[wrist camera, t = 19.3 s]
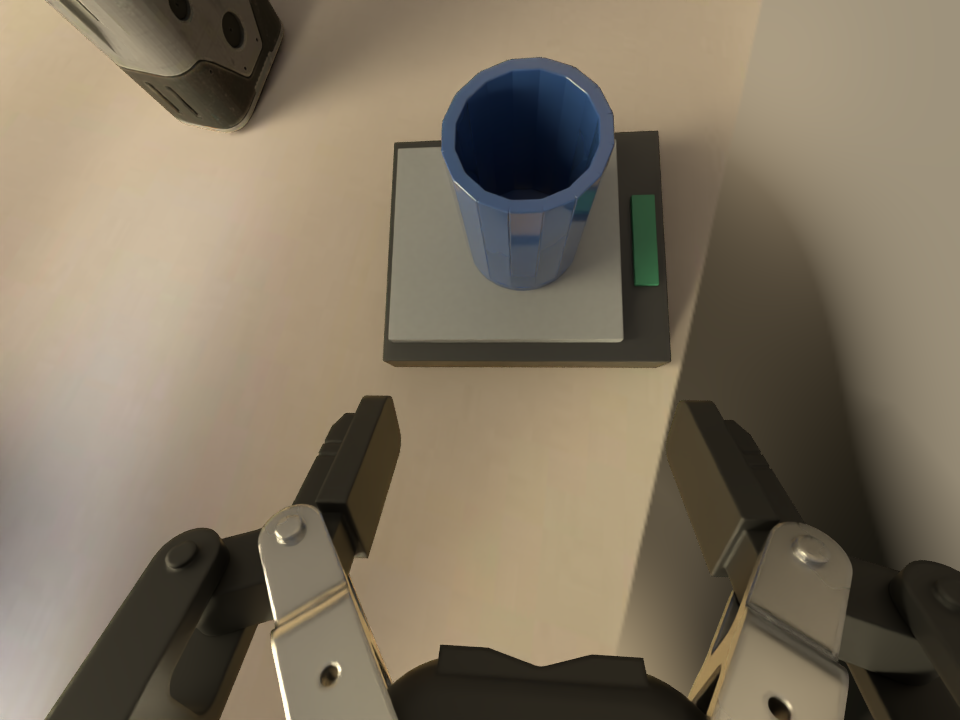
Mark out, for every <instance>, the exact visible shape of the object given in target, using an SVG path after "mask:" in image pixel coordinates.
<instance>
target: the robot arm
mask: <svg viewBox="0 0 960 720" xmlns="http://www.w3.org/2000/svg"><path fill="white" fill-rule="evenodd" d="M400 447H401V434H400V429H399V425H398V420H397V416H396V412H395V407H394V403H393V399H392V397H391V396H364V397H363V398H362V400H361V402H360V404H359V406H358V408H357V410H356V413H345V414H344V415H343V416H342V417H341V418H340V419H339V420H338V421H337V422H336V423H335V424H334V425H333V426H332V427H331V429H330V431H329V433H328V435H327V437H326V439H325V444H323V445H322V447H321V449H320V451H319V456H317V457H316V459H315V461H314V463H313V465H312V467H311V469H310V471H309V473H308V475H307V477H306V479H305V481H304V483H303V485H302V487H301V489H300V491H299V493H298V495H297V497H296V499H295V501H294V502H293V504H292V505H291V506H289V507H287V508H284V509H282V510H281V511H279V512H277V513H276V514H275V515H273V516H272V517H271V518H270V519H269V520H268V521H267V522H266V524H265V525H264V527H263V528H261V529H258V530H255V531H251V532H247V533H243V534H239V535H235V536H231V537H228V538H224V539H221V538H220V537H219V535H218V534H217V533H216V532H215V531H214V530H212V529H209V528H196V529H192V530H189V531H186V532H184V533H182V534H179V535H178V536H176V537H174V538H173V539H171V540H170V541H169V542H167V543H166V544H165V545H164V546H163V547H162V548H161V549H160V550H159V551H158V552H157V553H156V555H155V556H154V557H153V559H152V560H151V562H150V563H149V565H148V566H147V568H146V569H145V571H144V572H143V574H142V575H141V577H140V578H139V580H138V581H137V583H136V584H135V586H134V587H133V589H132V590H131V592H130V593H129V595H128V596H127V597H126V599H125V600H124V602H123V603H122V605H121V606H120V608H119V609H118V611H117V612H116V614H115V615H114V617H113V618H112V620H111V621H110V623H109V624H108V626H107V627H106V629H105V630H104V632H103V633H102V635H101V636H100V638H99V639H98V641H97V642H96V644H95V645H94V647H93V648H92V650H91V651H90V653H89V654H88V656H87V657H86V659H85V660H84V662H83V663H82V665H81V666H80V668H79V669H78V671H77V672H76V674H75V675H74V677H73V678H72V680H71V681H70V682H69V684H68V685H67V687H66V688H65V690H64V691H63V693H62V694H61V696H60V697H59V699H58V700H57V702H56V703H55V705H54V706H53V708H52V709H51V711H50V712H49V714H48V715H47V717H46V718H45V720H219V719H220V717H221V714H222V712H223V709H224V707H225V705H226V702H227V700H228V697H229V695H230V692H231V690H232V687H233V685H234V682H235V680H236V677H237V675H238V672H239V670H240V668H241V665H242V663H243V660H244V658H245V655H246V653H247V650H248V648H249V645H250V643H251V640H252V638H253V635H254V633H255V631H256V628H257V626H258V624H260V623H263V622H266V621H270V620H273V619H274V622H275V629H273V630H272V631H271V645H272V651H273V656H274V661H275V666H276V671H277V675H278V680H279V685H280V690H281V695H282V700H283V705H284V710H285V715H286V720H844V714H845V706H846V700H847V693H848V685H849V677H848V672H847V670H846V668H845V667H843V666H842V665H840V664H839V661H838V659H840V660H843V661H845V662H846V663H847V665H848V667H849V669H850V671H851V673H852V675H853V677H854V680H855V682H856V684H857V686H858V688H859V690H860V692H861V694H862V696H863V698H864V700H865V702H866V704H867V706H868V708H869V710H870V712H871V714H872V716H873V718H874V720H960V572H959V571H957V570H955V569H953V568H951V567H948V566H946V565H943V564H940V563H936V562H932V561H925V560H924V561H923V560H919V561H913V562H911V563H909V564H908V565H907V566H906V567H905V568H904V569H903V570H902V571H897V570H894V569H891V568H887V567H884V566H881V565H877V564H874V563H871V562H868V561H864V560H861V559H858V558H855V557H852V556H849V555H847V554H846V553H845V552H844V550H843V549H842V548H841V547H840V546H839V545H838V544H837V543H836V542H835V541H834V540H833V539H831V538H830V537H829V536H828V535H826V534H824V533H823V532H821V531H820V530H818V529H816V528H814V527H811V526H809V525H806V524H805V523H804V521H803V519H802V518H801V516H800V514H799V513H798V511H797V509H796V508H795V506H794V505H793V503H792V501H791V500H790V498H789V497H788V495H787V493H786V492H785V490H784V488H783V487H782V485H781V484H780V482H779V480H778V479H777V477H776V475H775V474H774V472H773V471H772V469H769V464H768V463H767V461H766V459H765V458H764V456H763V455H761V454H760V452H761V451H760V450H759V448H758V446H757V445H756V443H755V442H754V440H753V438H752V437H751V435H750V434H749V433H747V432H746V431H745V430H744V429H743V428H742V427H741V426H739V425H738V424H737V423H736V422H735V421H733V420H723V418H722V416H721V414H720V412H719V411H718V409H717V407H716V405H715V404H714V403H713V402H712V401H699V400H698V401H697V400H682V401H680V402H679V403H678V405H677V408H676V411H675V414H674V418H673V421H672V424H671V428H670V431H669V434H668V437H667V441H666V454H667V459H668V462H669V465H670V468H671V471H672V473H673V476H674V479H675V481H676V484H677V487H678V489H679V492H680V495H681V498H682V500H683V503H684V506H685V508H686V511H687V513H688V516H689V519H690V522H691V524H692V527H693V530H694V532H695V535H696V538H697V540H698V543H699V546H700V549H701V551H702V554H703V557H704V559H705V562H706V565H707V567H708V570H709V573H710V575H711V576H714V577H729V579H730V581H731V584H732V587H733V591H732V592H731V594H730V596H729V599H728V602H727V604H726V607H725V610H724V612H723V615H722V617H721V620H720V623H719V625H718V628H717V630H716V633H715V636H714V638H713V641H712V643H711V646H710V649H709V652H708V654H707V656H706V659H705V661H704V664H703V666H702V668H701V670H700V672H699V674H698V676H697V678H696V680H695V682H694V684H693V686H692V688H691V691H690V693H689V695H688V698H686V697H685V696H684V695H683V694H682V693H680V692H679V691H677V690H676V689H674V688H673V687H671V686H670V685H668V684H667V683H665V682H663V681H661V680H659V679H657V678H655V677H653V676H651V675H648V674H646V670H645V665H644V660H643V658H634V657H620V656H605V655H588V656H584V657H580V658H576V659H572V660H568V661H564V662H560V663H556V664H552V665H548V666H542V667H541V666H535V665H532V664H530V663H527V662H525V661H522V660H519V659H517V658H514V657H511V656H509V655H506V654H503V653H501V652H498V651H496V650H493V649H490V648H484V647H468V646H453V645H440V651H439V658H438V659H436V660H432V661H429V662H427V663H424V664H422V665H419V666H418V667H416V668H414V669H412V670H411V671H409V672H407V673H406V674H405V675H403V676H402V677H401V678H399V679H398V680H397V681H396V682H395V683H394V684H393V683H392V680H391V678H390V675H389V673H388V670H387V668H386V665H385V663H384V660H383V658H382V656H381V653H380V651H379V649H378V646H377V644H376V641H375V639H374V636H373V634H372V631H371V629H370V626H369V624H368V621H367V619H366V616H365V613H364V611H363V608H362V606H361V603H360V601H359V598H358V596H357V593H356V590H355V588H354V585H353V583H352V580H351V578H350V575H349V571H350V568H351V565H352V562H353V559H354V558H368V556H369V553H370V550H371V546H372V543H373V540H374V536H375V533H376V530H377V526H378V523H379V520H380V516H381V513H382V510H383V506H384V503H385V500H386V496H387V493H388V490H389V486H390V483H391V480H392V476H393V473H394V470H395V466H396V463H397V460H398V456H399V453H400Z"/></svg>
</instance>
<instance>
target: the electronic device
mask: <svg viewBox="0 0 960 720" xmlns="http://www.w3.org/2000/svg"><path fill="white" fill-rule="evenodd" d="M45 1H46V2H47V3H49V4H50V5H51V6H52V7H53V8H54V9H55V10H56V11H57V12H59V13H60V14H61V15H62V16H63V17H64V18H65V19H66V20H67V21H69V22H70V23H71V24H72V25H73V26H74V27H75V28H76V29H77V30H79V31H80V32H81V33H82V34H83V35H84V36H85V37H86V38H88V39H89V40H90V41H91V42H92V43H93V44H94V45H95V46H96V47H98V48H99V49H100V50H101V51H102V52H103V53H104V54H105V55H106V56H108V57H109V58H110V59H111V60H112V61H113V62H114V63H115V64H116V65H118V66H119V67H120V68H121V69H122V70H123V71H124V72H125V73H126V74H128V75H129V76H130V77H131V78H132V79H133V80H134V81H135V82H136V83H138V84H139V85H140V86H141V87H142V88H143V89H144V90H145V91H146V92H148V93H149V94H150V95H151V96H152V97H153V98H154V99H155V100H156V101H158V102H159V103H160V104H161V105H162V106H163V107H164V108H165V109H166V110H168V111H169V112H170V113H171V114H172V115H173V116H174V117H175V118H176V119H178V120H179V121H180V122H182V123H184V124H187V125H190V126H195V127H199V128H204V129H208V130H213V131H217V132H225V133H228V132H234V131H237V130H239V129H241V128H243V127H244V126H245V125H246V124H247V122H248V121H249V119H250V117H251V115H252V113H253V111H254V108H255V106H256V103H257V101H258V98H259V96H260V93H261V91H262V88H263V86H264V83H265V81H266V78H267V76H268V73H269V71H270V68H271V66H272V63H273V61H274V58H275V56H276V53H277V51H278V48H279V46H280V43H281V40H282V37H283V25H282V23H281V21H280V19H279V18H278V16H277V14H276V12H275V11H274V9H273V7H272V6H271V4H270V2H269V0H45Z"/></svg>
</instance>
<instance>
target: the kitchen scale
mask: <svg viewBox="0 0 960 720" xmlns="http://www.w3.org/2000/svg"><path fill="white" fill-rule="evenodd" d="M614 140H615V144H614V149H613V152H612V154H611V157H610V160H609V163H608V166H607V169H606V172H605V174H604V177H603V180H602V183H601V186H600V189H599V192H598V195H597V197H596V200H595V203H594V206H593V209H592V212H591V215H590V217H589V220H588V223H587V226H586V229H585V232H584V235H583V237H582V240H581V243H580V246H579V248H578V250H577V253H576V256H575V258H574V260H573V262H572V264H571V265H570V267H569V268H568V269H567V271H566V272H565V273H564V274H563V275H562V276H561V277H559V278H558V279H557V280H555V281H554V282H552V283H551V284H549V285H547V286H544V287H542V288H539V289H534V290H528V291H516V290H510V289H506V288H503V287H500V286H498V285H496V284H494V283H492V282H491V281H489V280H488V279H487V278H486V277H484V276H483V275H482V274H481V273H480V271H479V270H478V269H477V267H476V266H475V264H474V262H473V260H472V258H471V255H470V252H469V249H468V247H467V244H466V241H465V237H464V233H463V230H462V226H461V222H460V219H459V215H458V212H457V208H456V204H455V201H454V197H453V194H452V190H451V186H450V183H449V179H448V176H447V172H446V168H445V165H444V161H443V158H442V153H441V141H420V142H398V143H395V144H394V162H393V180H392V199H391V218H390V237H389V256H388V274H387V293H386V312H385V331H384V350H383V361H384V362H387V363H389V364H391V365H393V366H395V367H610V368H657V367H659V366H662V365H664V364H666V363H669V362H671V350H670V333H669V315H668V297H667V279H666V261H665V243H664V225H663V207H662V189H661V171H660V154H659V136H658V131H640V132H618V133H614Z"/></svg>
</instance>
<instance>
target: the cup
mask: <svg viewBox="0 0 960 720" xmlns="http://www.w3.org/2000/svg"><path fill="white" fill-rule="evenodd" d="M614 144H615V140H614V116H613V112H612V110H611V108H610V106H609V104H608V102H607V100H606V99H605V97H604V95H603V93H602V91H601V89H600V87H598V85H597V84H596V83H595V82H593V81H592V80H591V79H589V78H588V77H587V76H586V75H584V74H583V73H582V72H581V71H579V70H578V69H577V68H576V67H573V66H571V65H568V64H564V63H561V62H558V61H554V60H551V59H548V58H542V57H536V58H520V59H510V60H506V61H504V62H502V63H499V64H497V65H495V66H492V67H490V68H488V69H485V70H483V71H481V72H480V73H478V74H477V75H475V76H474V77H473V78H472V79H471V80H470V81H469V82H468V83H467V84H466V85H465V86H464V87H462V88H461V89H460V90H459V91H458V92H457V93H456V94H455V96H454V98H453V100H452V102H451V104H450V106H449V109H448V111H447V113H446V115H445V117H444V119H443V123H442V137H441V153H442V158H443V161H444V165H445V168H446V172H447V176H448V179H449V183H450V186H451V190H452V194H453V197H454V201H455V204H456V208H457V212H458V215H459V219H460V222H461V226H462V230H463V233H464V237H465V241H466V244H467V247H468V249H469V252H470V255H471V258H472V260H473V262H474V264H475V266H476V267H477V269H478V270H479V271H480V273H481V274H482V275H483V276H484V277H486V278H487V279H488V280H489V281H491V282H492V283H494V284H496V285H498V286H500V287H503V288H506V289H510V290H516V291H528V290H534V289H539V288H542V287H544V286H547V285H549V284H551V283H552V282H554V281H555V280H557V279H558V278H559V277H561V276H562V275H563V274H564V273H565V272H566V271H567V269H568V268H569V267H570V265H571V264H572V262H573V260H574V258H575V256H576V253H577V250H578V248H579V246H580V243H581V240H582V237H583V235H584V232H585V229H586V226H587V223H588V220H589V217H590V215H591V212H592V209H593V206H594V203H595V200H596V197H597V195H598V192H599V189H600V186H601V183H602V180H603V177H604V174H605V172H606V169H607V166H608V163H609V160H610V157H611V154H612V152H613V149H614Z"/></svg>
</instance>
